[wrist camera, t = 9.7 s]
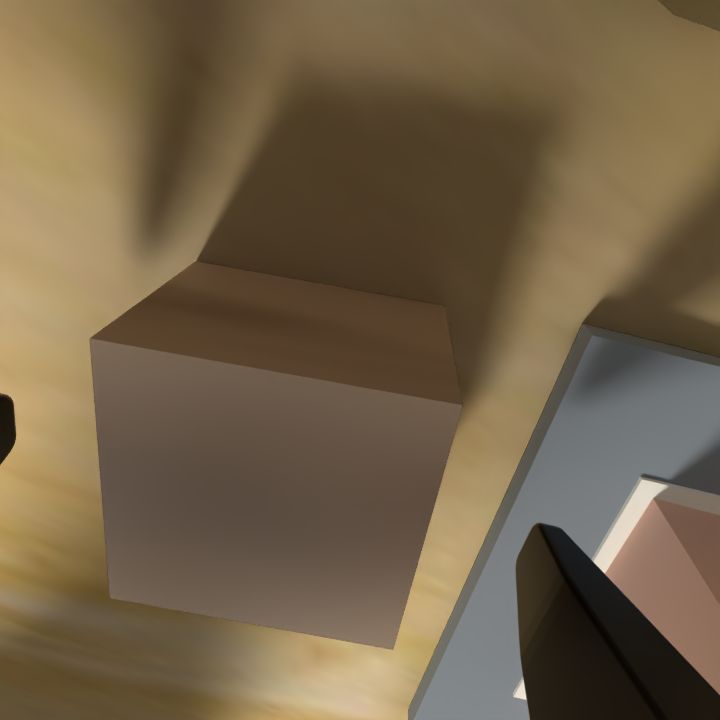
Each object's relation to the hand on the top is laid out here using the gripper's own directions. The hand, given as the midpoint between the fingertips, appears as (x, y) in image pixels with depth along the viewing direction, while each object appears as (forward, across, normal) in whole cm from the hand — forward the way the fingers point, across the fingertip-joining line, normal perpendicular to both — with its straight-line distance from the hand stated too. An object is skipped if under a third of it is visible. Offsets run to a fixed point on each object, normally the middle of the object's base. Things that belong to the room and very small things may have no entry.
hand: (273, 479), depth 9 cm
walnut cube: (+3, 0, 0) cm, 3 cm away
